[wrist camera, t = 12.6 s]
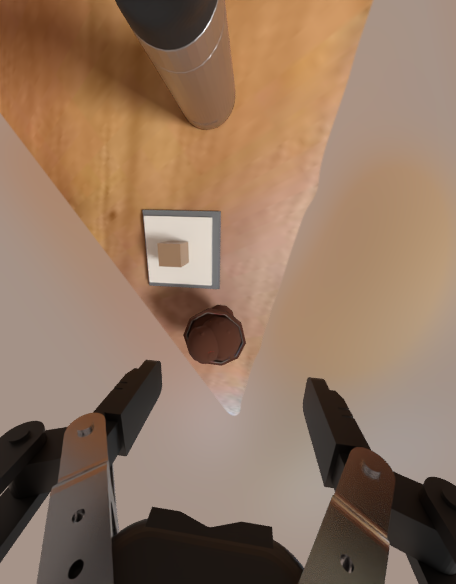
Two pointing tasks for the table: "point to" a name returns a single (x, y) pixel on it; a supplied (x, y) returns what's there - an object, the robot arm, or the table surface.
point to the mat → (215, 243)
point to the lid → (179, 249)
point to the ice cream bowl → (214, 336)
